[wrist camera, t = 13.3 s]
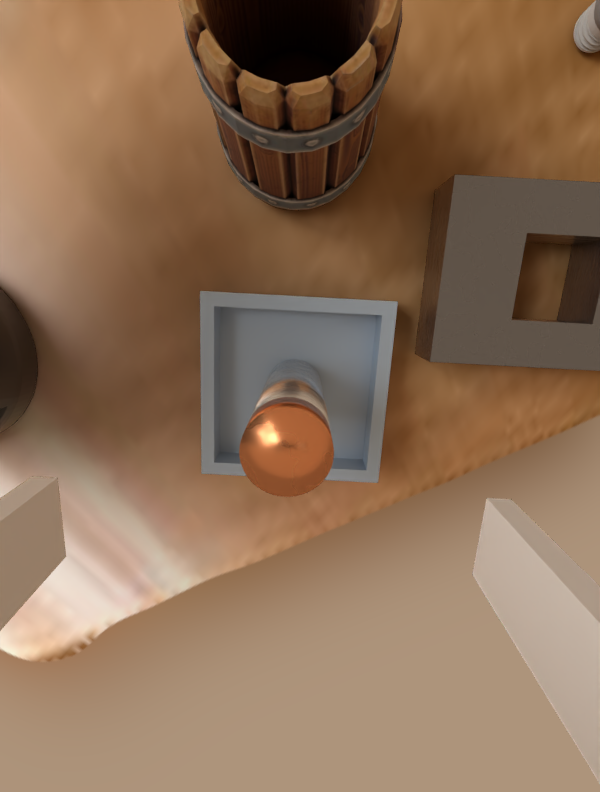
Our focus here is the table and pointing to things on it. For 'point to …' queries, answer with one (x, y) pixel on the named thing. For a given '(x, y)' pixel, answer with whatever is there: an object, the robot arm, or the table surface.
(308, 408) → the pin
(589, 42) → the light bulb
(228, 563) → the table surface
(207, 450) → the tray
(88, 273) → the table surface
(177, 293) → the table surface
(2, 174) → the table surface
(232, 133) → the mug
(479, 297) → the hitch block
